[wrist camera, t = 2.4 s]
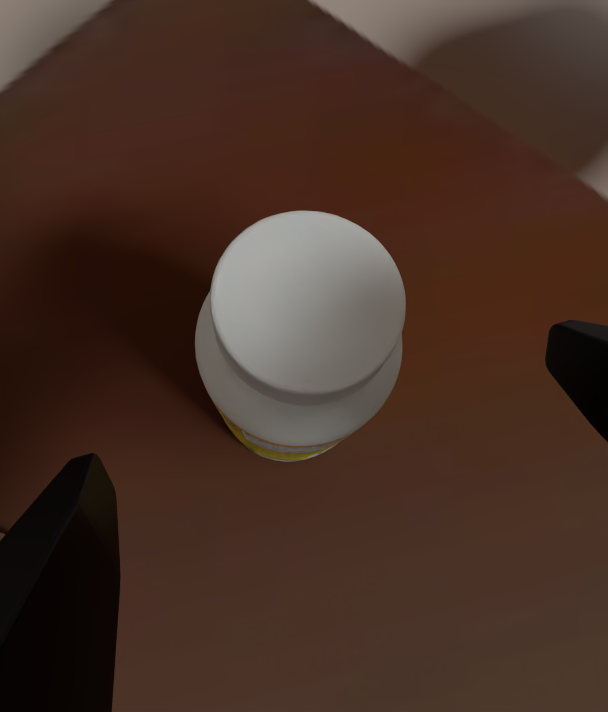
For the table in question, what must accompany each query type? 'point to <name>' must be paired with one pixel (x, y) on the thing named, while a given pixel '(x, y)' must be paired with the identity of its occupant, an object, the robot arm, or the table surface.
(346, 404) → the supplement bottle
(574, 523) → the table surface
